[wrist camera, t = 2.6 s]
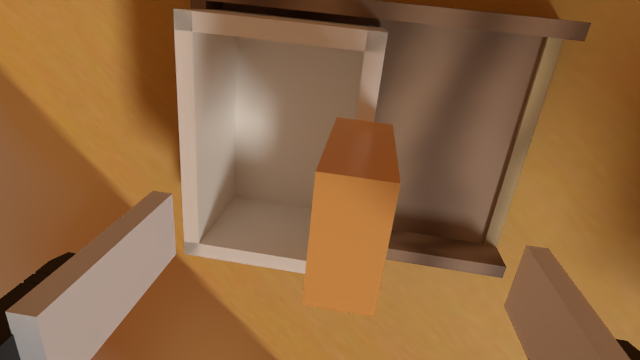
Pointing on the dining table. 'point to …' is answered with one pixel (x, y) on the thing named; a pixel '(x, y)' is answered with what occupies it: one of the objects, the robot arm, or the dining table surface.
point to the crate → (287, 149)
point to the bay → (449, 115)
